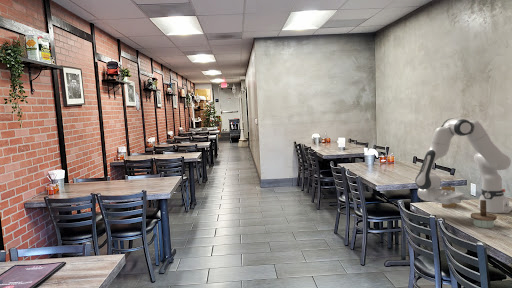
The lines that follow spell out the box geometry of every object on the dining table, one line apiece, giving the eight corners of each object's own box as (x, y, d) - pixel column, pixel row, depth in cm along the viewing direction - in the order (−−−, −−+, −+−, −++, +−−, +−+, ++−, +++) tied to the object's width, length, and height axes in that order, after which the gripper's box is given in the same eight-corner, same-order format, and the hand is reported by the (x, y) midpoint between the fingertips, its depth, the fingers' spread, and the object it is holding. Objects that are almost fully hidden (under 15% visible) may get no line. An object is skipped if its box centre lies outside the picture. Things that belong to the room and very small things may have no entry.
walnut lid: (477, 213, 217) (477, 196, 216) (501, 217, 206) (500, 200, 205) (466, 217, 210) (465, 200, 210) (489, 222, 199) (489, 204, 198)
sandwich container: (454, 202, 261) (453, 182, 260) (455, 208, 247) (455, 186, 246) (441, 202, 265) (440, 182, 264) (441, 207, 251) (441, 186, 250)
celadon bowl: (479, 221, 215) (478, 214, 215) (497, 225, 207) (497, 217, 206) (470, 224, 210) (470, 217, 210) (488, 228, 202) (488, 221, 201)
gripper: (432, 194, 223) (454, 198, 211) (451, 189, 233) (473, 192, 222) (433, 204, 223) (455, 208, 211) (451, 198, 234) (473, 202, 222)
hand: (464, 200), depth 217 cm, fingers open, 8 cm apart
